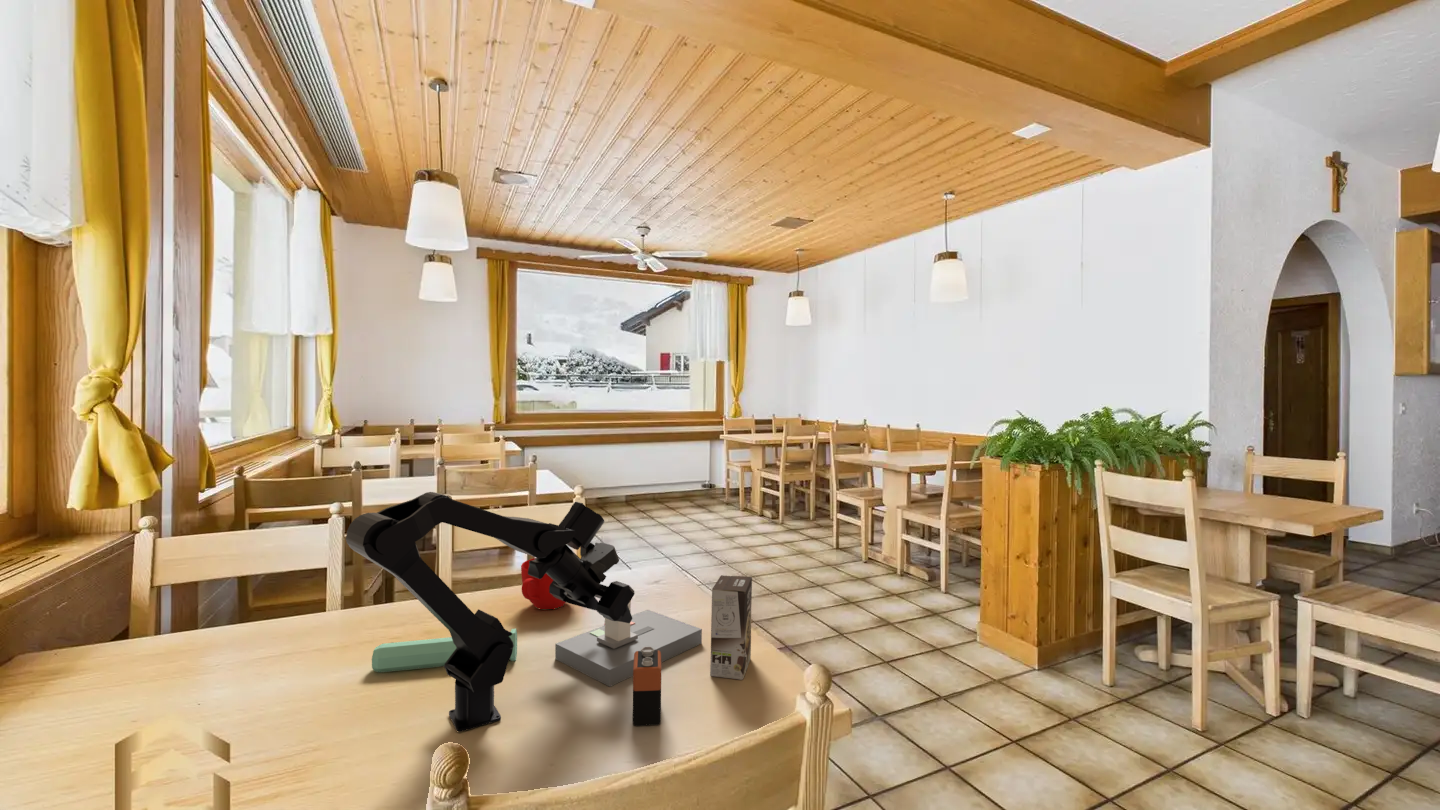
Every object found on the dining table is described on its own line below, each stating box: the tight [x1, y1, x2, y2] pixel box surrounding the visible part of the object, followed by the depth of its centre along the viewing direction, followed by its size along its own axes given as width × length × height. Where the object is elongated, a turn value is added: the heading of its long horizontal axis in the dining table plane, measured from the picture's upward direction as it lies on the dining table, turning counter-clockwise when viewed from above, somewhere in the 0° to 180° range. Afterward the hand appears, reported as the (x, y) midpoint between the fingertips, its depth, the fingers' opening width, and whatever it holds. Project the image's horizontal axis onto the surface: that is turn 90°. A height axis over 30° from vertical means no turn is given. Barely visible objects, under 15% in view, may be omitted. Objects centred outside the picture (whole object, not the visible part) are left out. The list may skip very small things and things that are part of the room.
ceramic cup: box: [520, 557, 567, 610], centre depth 144 cm, size 13×17×10 cm
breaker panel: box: [554, 609, 703, 688], centre depth 122 cm, size 24×16×3 cm, turn 140°
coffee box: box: [709, 574, 753, 681], centre depth 115 cm, size 9×6×16 cm
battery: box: [632, 647, 662, 727], centre depth 99 cm, size 4×7×10 cm, turn 6°
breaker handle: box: [597, 600, 638, 649], centre depth 119 cm, size 6×5×9 cm
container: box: [371, 628, 518, 673], centre depth 115 cm, size 6×6×25 cm
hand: (614, 614), depth 118 cm, fingers open, 9 cm apart
